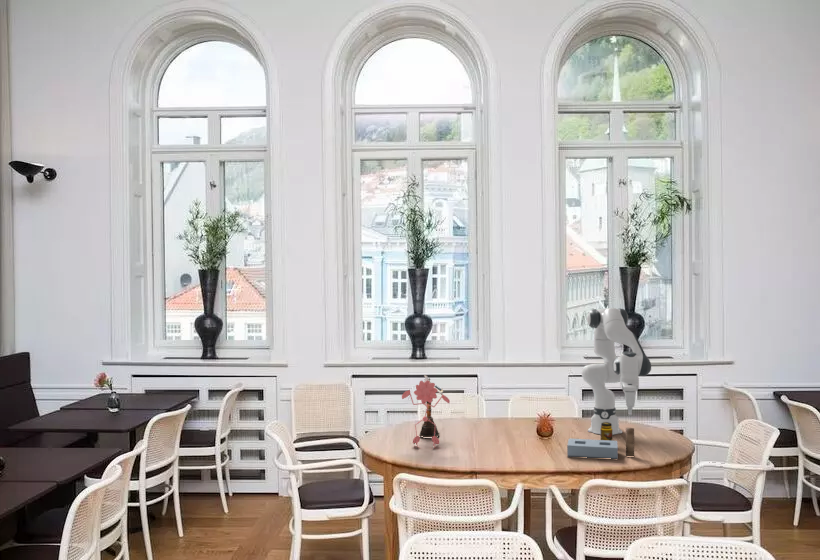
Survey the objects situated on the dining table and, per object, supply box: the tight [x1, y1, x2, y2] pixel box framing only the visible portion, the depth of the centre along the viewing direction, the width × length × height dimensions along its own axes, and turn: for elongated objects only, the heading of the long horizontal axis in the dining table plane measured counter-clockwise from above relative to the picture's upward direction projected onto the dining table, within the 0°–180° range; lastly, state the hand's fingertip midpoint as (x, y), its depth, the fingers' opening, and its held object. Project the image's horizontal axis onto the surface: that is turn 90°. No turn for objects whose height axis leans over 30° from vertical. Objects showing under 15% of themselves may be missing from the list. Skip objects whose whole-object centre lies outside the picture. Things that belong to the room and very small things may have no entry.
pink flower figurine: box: [401, 380, 451, 447], centre depth 380 cm, size 15×26×35 cm, turn 83°
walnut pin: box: [625, 427, 635, 457], centre depth 353 cm, size 4×4×14 cm
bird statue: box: [418, 374, 444, 437], centre depth 399 cm, size 17×13×35 cm
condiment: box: [600, 422, 614, 441], centre depth 374 cm, size 7×8×12 cm
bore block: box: [566, 438, 619, 460], centre depth 356 cm, size 14×24×6 cm, turn 75°
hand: (629, 412), depth 352 cm, fingers open, 8 cm apart
